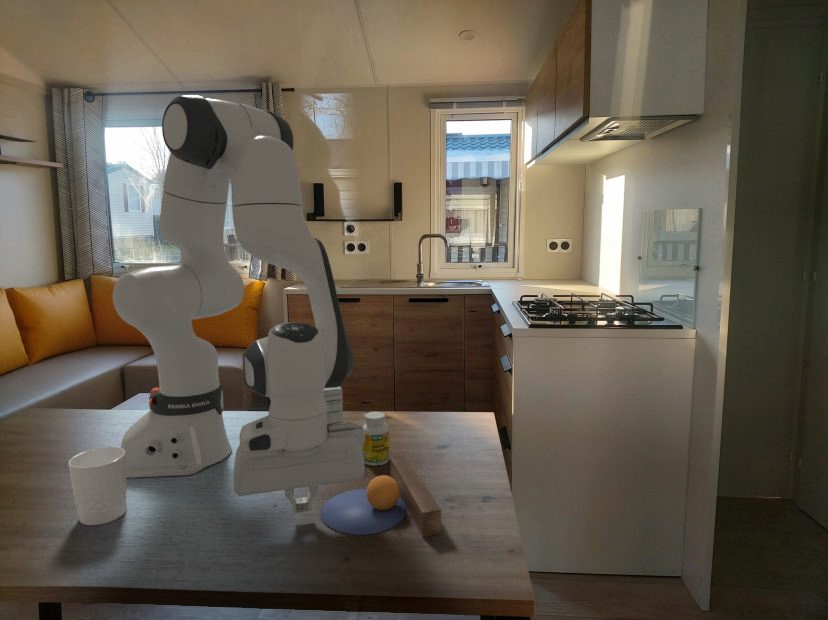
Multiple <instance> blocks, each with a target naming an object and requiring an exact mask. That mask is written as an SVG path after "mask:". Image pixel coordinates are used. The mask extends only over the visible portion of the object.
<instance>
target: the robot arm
mask: <svg viewBox="0 0 828 620" xmlns="http://www.w3.org/2000/svg"><path fill="white" fill-rule="evenodd" d="M161 123H162V124H161V132H162V138H163V141H164V143H165V146H166V147H167V149H168V151H169V153H170V154H169V157H168V161H167V165H166V168H165V174H164V179H163V186H162V187H163V188H162V197H161V205H160V213H159V214H160V215H159V222H158V223H159V224H158V227H159V230H160V233H161V235H162V236H163V238H164V239H165V240H166V241H167V242H168V243H169V244H171V245H172V246H174V247H176V248H177V249H179V251H180V262H179V264H175V265H173V264H172V265H157V266H147V267H144V268H140V269H135V270H132V271H129V272H127V273H123V274H122V275H120V277H119V278H118V279H117V281H116V282H115V284H114V286H113V289H112V303H113V306H114V309H115V311H116V313H117V315H118V316H119V317H120V318H121V320H123V322H126V324H128V325H130V326H132V327H133V328H135V329H136V330H138V331H139V332H140V333H141V334H142V335H143V336H144V337H145V338H146V340H147V341H148V343H149V345H150V346H151V348H152V351H153V354H154V357H155V363H156V367H157V374H158V375H157V376H158V384H159V387H154V388H152V389H151V391H150V392H149V398H148V405H149V409H150V410H149V411H148V412H147V413H146V414H144V415H142V417H141V418H140V419H138V420H137V421H136V422H133V424H132V425H131V426H130V427H128V429H127V430H126V431H125V434H124V435H123V437H122V439H121V444H120V445H121V446H120V448H122V449H124V450H125V458H126V479H129V478H143V477H144V478H148V477H149V478H151V477H173V476H191V475H194V474H196V473H199V472H200V471H202V470H203V469H205V468H207V467H209V466H212V465H215V464H217V463H218V462H221V461H222V460H224V459H226V458H227V457H228V456H229V455H230V454H231V453H232V449H233V448H232V445H231V444H230V441H229V438H228V435H227V431H226V428H225V427H226V426H225V421H224V418H223V417H224V416H223V411H224V393H223V392H224V391H223V387H222V385H221V384H220V376H219V362H218V359H219V358H218V351H217V349H216V348H215V346H214V345H213V344H212V343H210V341H208V340H206V339H203V338H201V337H198V336H197V335H196V333H195V331H194V327H193V322H192V320H197V319H198V320H199V319H204V318H211V317H215V316H216V317H217V316H219V315H222V314H224V313H226V312H229V311H231V310H233V309H235V308H237V307H238V306H240V304H241V302H242V301H243V298H244V294H245V284H244V281H243V278H242V275H241V274H240V273H239V271H238V270H237V269H236V268H235V267H234V266H233V265H232V264H231V263H230V261H229V259H228V257H227V254H226V251H225V250H226V249H225V245H224V232H225V231H224V230H225V222H226V213H227V206H228V198H229V189H230V185H231V210H232V222H233V227H234V231H235V232H234V233H235V237H236V239H237V242H238V243H239V244H240V246H241V247H242V248H243V249H244V250H245V251H246V252H247V253H248V254H250V256H252V257H254V258H255V259H257V260H259V261H261V262H264V263H267V264H269V265H271V266H272V265H273V266H275V267H278V268H281V269H285V270H287V271H290V272H291V273H293V274H295V275H297V276H298V277H299V278H300V279H301V280H302V281H303V283H304V284H305V287H306V290H307V295H308V298H309V303H310V306H311V312H312V315H313V319H314V320H313V321H314V325H315V326H313V325H311V324H309V323H304V322H298V321H290V322H283V323H282V322H281V323H280V324H277V325H275V326H273V327H272V328H271V329H270V330H269V332H268V335H267V336H266V337H262V338H259V339H257V340H253V341H252V342H251V343H250V345H248V347H247V348H246V349H245V351H244V352H243V354H242V367H243V368H242V369H243V381H244V385H245V387H246V388H247V389H249V390H250V391H252V392H253V393H254V394H257V395H259V396H260V397H262V398H263V397H264V398H265V397H268V398H269V400H270V401H269V403H270V404H269V408H268V415H265V416H263V417H260V418H258V419H256V420H253V421H251V422H248V423H246V424H244V425H242V427H241V429H240V433H239V445H238V446H237V448H236V451H235V457H234V465H233V466H234V467H233V475H232V476H233V479H232V480H233V482H232V486H233V487H232V488H233V489H232V490H233V492H234V493H235V494H236V495H237V496H238V497H243V496H244V497H245V496H250V495H252V496H253V495H259V494H265V493H272V492H280V491H284V496H285V498H286V499H287V500H288V502H289V503H290V504H291V508H292V509H291V510H292V514H293V515H294V514H299V513H301V514H302V513H306V512H312V502H313V500H314V499H315V497H316V496H317V493H319V486H323V485H331V484H337V483H338V484H339V483H344V482H345V483H346V482H352V481H360V480H361V479H362V478H363V477H364V475H365V473H366V469H365V465H366V464H365V463H364V457H363V452H362V446H363V445H364V443H365V431H364V429H363V426H362V425H359V424H356V422H346V423H343V424H330V425H328V424H327V404H326V401H325V398H324V388H336V387H339V386H340V387H342V385H343V384H344V383H345V382H346V380H347V379H348V378H349V376H350V375H351V373H352V371H353V370H354V366H355V361H354V353H353V349H352V345H351V342H350V340H349V337H348V335H347V332H346V331H347V330H346V328H345V324H344V320H343V316H342V311H341V307H340V302H339V298H338V293H337V288H336V284H335V283H336V282H335V279H334V276H333V271H332V268H331V267H332V266H331V263H330V259H329V256H328V254H327V253H328V252H327V251H326V248H325V246H324V244H323V242H322V241H321V240H320V239H318V238H316V237H314V235H313V234H312V232H311V231H310V229H309V227H308V225H307V221H306V219H305V215H304V211H303V210H304V209H303V197H302V187H301V181H300V176H299V171H298V166H297V162H296V159H295V154H294V151H293V149H294V134H293V131H292V129H291V126H290V124H289V123H288V122H287V120H286V119H284V118H283V117H282V116H280V115H278V114H276V113H274V112H272V111H270V110H268V109H267V110H266V109H265V110H263V109H260V108H257V107H255V106H252V105H249V104H245V103H242V102H238V101H228V100H223V99H214V98H208V97H207V98H205V97H204V96H201V95H197V94H196V95H195V94H188V95H178V96H176V97H174V98H173V99H172V100H171V101H170V102H169V104H168V105H167V106H166V108H165V110H164V112H163V117H162V122H161ZM230 183H231V184H230ZM301 488H308V492H307V494H306V496H304V497H296V496H295V495H294V494H295V489H301Z"/></svg>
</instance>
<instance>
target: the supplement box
mask: <svg viewBox="0 0 828 620" xmlns="http://www.w3.org/2000/svg"><path fill="white" fill-rule="evenodd" d="M324 398H325V401H326V404H327V424H328V425H330V424H344V415H343V414H344V409H343V408H344V407H343V387H342V386H339V387H336V388H324Z"/></svg>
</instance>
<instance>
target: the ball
mask: <svg viewBox="0 0 828 620" xmlns="http://www.w3.org/2000/svg"><path fill="white" fill-rule="evenodd" d="M366 489H367V499H368V501H369V503H370V504H371V506H372V507H374V508H376V509H378V510H388V509H390V508H392V507H393V506H394V505H395V504H396V503H397V501H398V499H399V498H400V490H399V486H398V484H397V482H396V481H395V480H394V479H393V478H391V477H390V475H386V474H385V475H384V474H382V475H379V476H375V477H374V478H373V479H371V480H370V482H369V483H368V485H367V487H366Z"/></svg>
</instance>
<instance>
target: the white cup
mask: <svg viewBox="0 0 828 620" xmlns="http://www.w3.org/2000/svg"><path fill="white" fill-rule="evenodd" d="M67 463H68V469H69V475H70V476H69V477H70V480H71V481H70V482H71V487H72V493H73V498H74V503H75V506H76V510H77V515H78V520H79V523H80V524H82V525H85V526H98V525H105V524H107V523H111V522H113V521H115V520H117V519H119V518H120V517H122V516H123V515H124V514H125V513H126V511H127V510H128V509H127V490H128V489H127V478H126V458H125V450H124V449H122V448H121V447H117V446H106V447H97V448H93V449H89V450H86V451H83V452H80V453H78V454H76V455H74V456H72V457H71V458H70V459H69V460H68V462H67Z"/></svg>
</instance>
